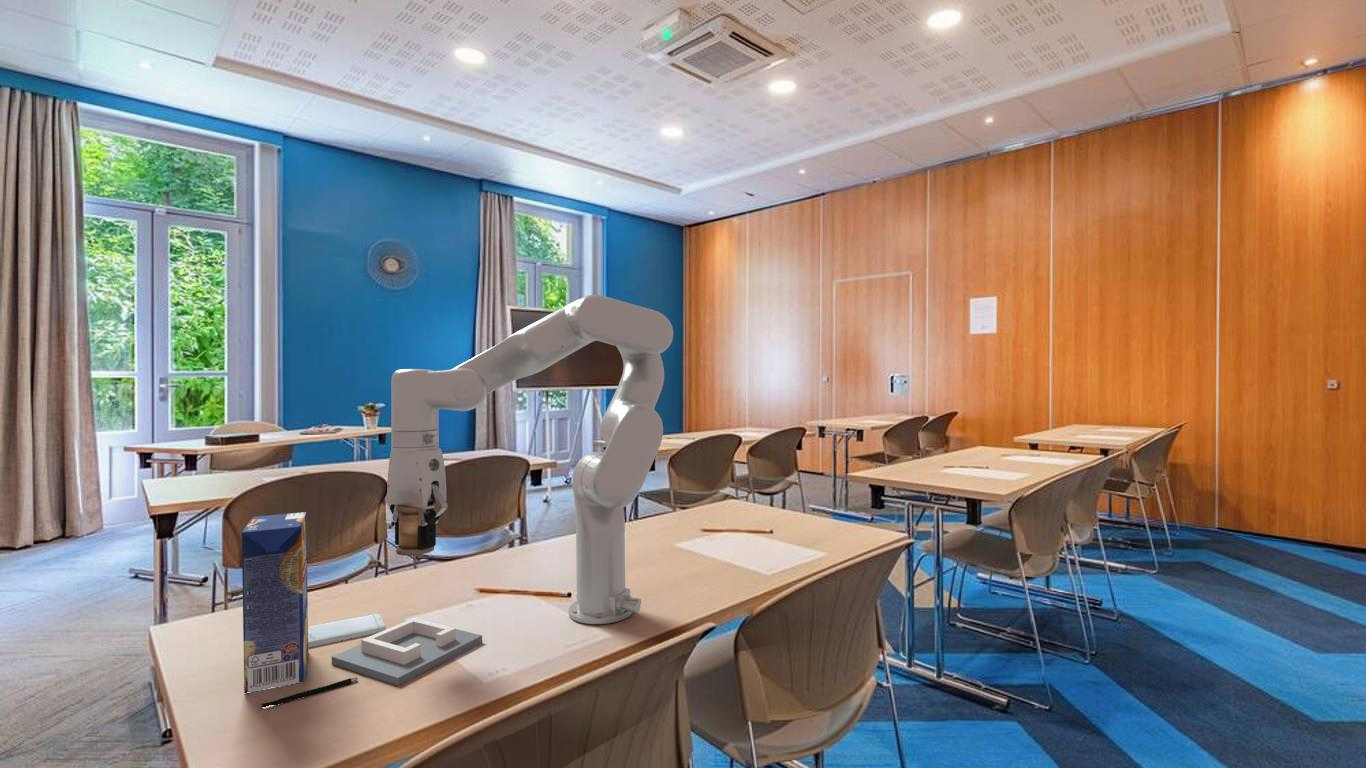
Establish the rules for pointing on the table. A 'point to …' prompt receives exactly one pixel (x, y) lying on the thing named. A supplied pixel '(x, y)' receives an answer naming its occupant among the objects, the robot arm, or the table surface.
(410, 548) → the bobbin
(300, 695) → the black pencil
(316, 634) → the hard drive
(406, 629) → the notched board
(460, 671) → the table surface
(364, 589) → the table surface
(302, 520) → the juice carton
